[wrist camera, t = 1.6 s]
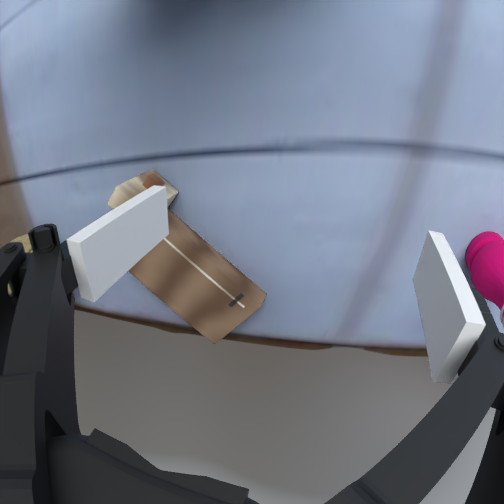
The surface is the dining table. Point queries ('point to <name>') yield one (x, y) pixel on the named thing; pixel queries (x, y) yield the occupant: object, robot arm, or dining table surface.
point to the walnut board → (198, 282)
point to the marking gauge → (140, 188)
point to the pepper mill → (488, 267)
